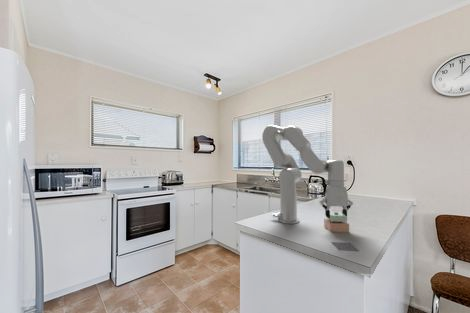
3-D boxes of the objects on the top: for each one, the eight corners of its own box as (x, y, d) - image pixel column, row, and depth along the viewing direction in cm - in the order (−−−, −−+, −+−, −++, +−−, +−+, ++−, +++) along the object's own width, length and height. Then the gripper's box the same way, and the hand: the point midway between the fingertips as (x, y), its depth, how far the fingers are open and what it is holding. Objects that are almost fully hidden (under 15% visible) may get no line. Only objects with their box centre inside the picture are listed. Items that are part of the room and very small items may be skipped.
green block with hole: (331, 221, 101) (331, 214, 101) (326, 216, 108) (326, 210, 108) (347, 221, 100) (347, 215, 100) (340, 217, 107) (340, 211, 107)
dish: (330, 232, 100) (330, 223, 100) (324, 226, 109) (324, 218, 109) (349, 233, 99) (349, 224, 99) (341, 227, 108) (341, 219, 108)
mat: (338, 251, 79) (338, 250, 79) (330, 243, 87) (330, 241, 87) (359, 252, 79) (359, 251, 79) (350, 243, 87) (350, 242, 87)
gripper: (320, 184, 101) (321, 219, 101) (357, 184, 100) (357, 220, 99) (316, 182, 109) (316, 215, 109) (349, 183, 107) (350, 216, 107)
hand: (336, 217), depth 104 cm, fingers closed on green block with hole, 7 cm apart
